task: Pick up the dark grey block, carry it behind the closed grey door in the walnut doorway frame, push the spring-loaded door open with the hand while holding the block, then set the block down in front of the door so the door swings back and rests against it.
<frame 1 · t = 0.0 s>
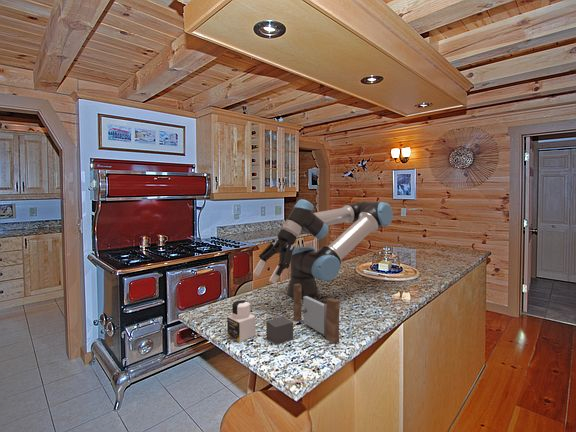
hand: (263, 278, 129), 15 cm above the counter, tool tilted 35°, fingers open, 13 cm apart
dark grey block: (279, 338, 110), on the counter
door: (314, 315, 115), point 6 cm above the counter, hinge at 0.0°
medicine bottle: (241, 336, 112), on the counter
doorframe: (315, 330, 116), on the counter
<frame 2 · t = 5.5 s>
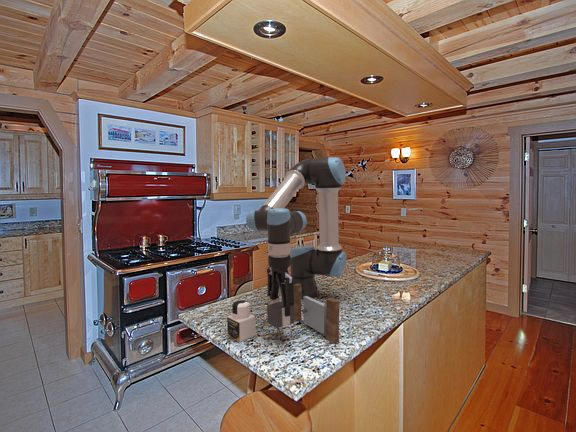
hand: (280, 321, 110), 6 cm above the counter, tool pointing down, fingers closed on dark grey block, 6 cm apart
dark grey block: (280, 322, 110), point 5 cm above the counter, touching gripper
everything else where it was.
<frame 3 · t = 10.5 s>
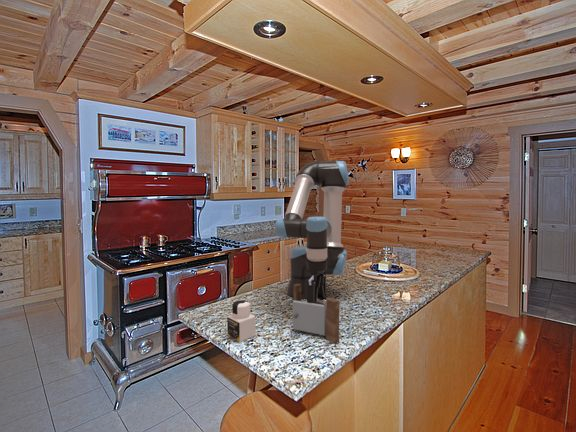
hand: (317, 319, 120), 2 cm above the counter, tool pointing down, fingers closed on dark grey block, 6 cm apart
dark grey block: (317, 320, 120), point 2 cm above the counter, touching gripper
door: (310, 318, 112), point 6 cm above the counter, hinge at 31.3°, touching hand
everything else where it was.
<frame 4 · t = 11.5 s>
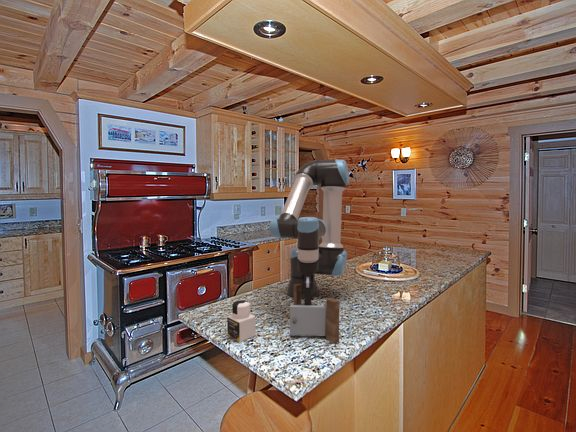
hand: (307, 321, 118), 2 cm above the counter, tool pointing down, fingers closed on dark grey block, 6 cm apart
dark grey block: (307, 322, 118), point 2 cm above the counter, touching gripper
door: (309, 320, 110), point 6 cm above the counter, hinge at 54.7°, touching hand
everything else where it was.
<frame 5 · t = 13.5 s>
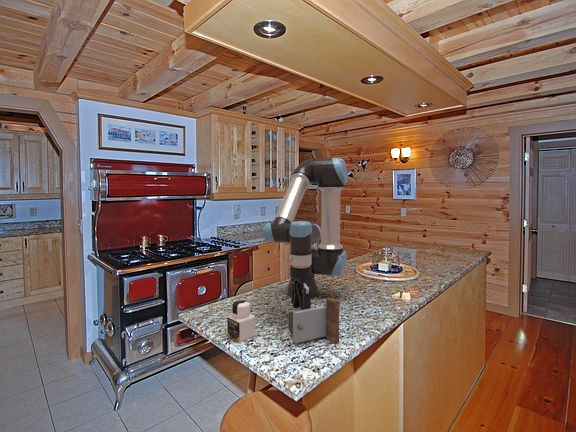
hand: (300, 329, 115), 1 cm above the counter, tool pointing down, fingers closed on dark grey block, 6 cm apart
dark grey block: (300, 330, 115), on the counter, touching gripper
door: (312, 324, 107), point 6 cm above the counter, hinge at 82.8°, touching hand
everything else where it was.
when the fingers open (1 cm above the counter, at t = 13.5 s): dark grey block stays where it is, on the counter.
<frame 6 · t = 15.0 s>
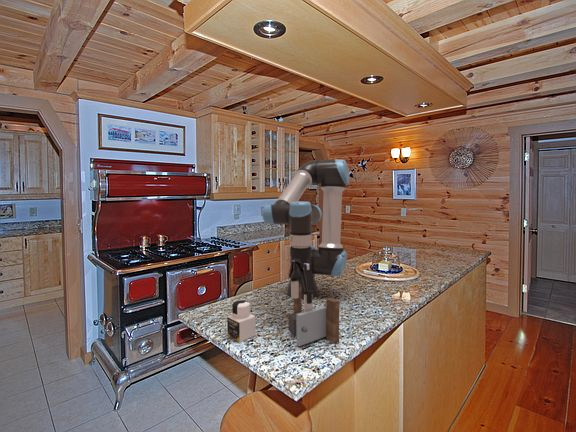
hand: (301, 304, 114), 10 cm above the counter, tool pointing down, fingers open, 13 cm apart
dark grey block: (300, 332, 115), on the counter
door: (314, 325, 106), point 6 cm above the counter, hinge at 93.2°
everything else where it was.
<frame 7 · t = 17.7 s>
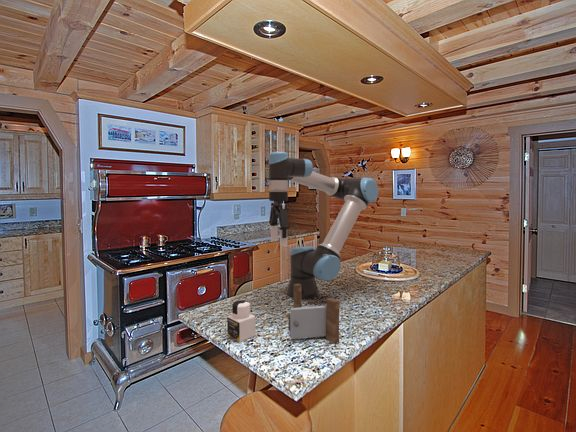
hand: (278, 243, 131), 29 cm above the counter, tool pointing down, fingers open, 13 cm apart
door: (310, 322, 109), point 6 cm above the counter, hinge at 68.0°
everything else where it was.
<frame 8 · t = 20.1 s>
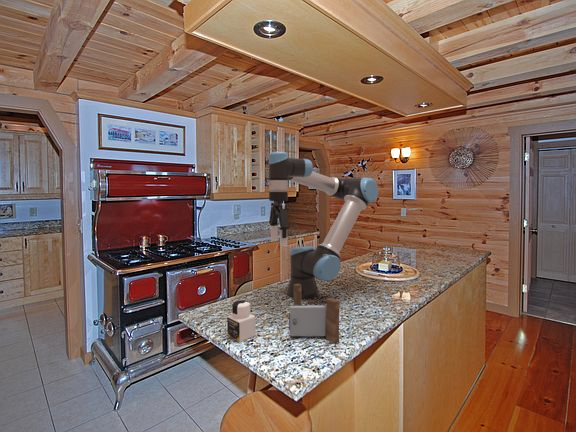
hand: (278, 243, 131), 29 cm above the counter, tool pointing down, fingers open, 13 cm apart
door: (309, 321, 110), point 6 cm above the counter, hinge at 58.0°
everything else where it was.
at the end: door at +58° (first picture: +0°); dark grey block inside the target area (0.4 cm from its centre), on the counter; dark grey block tilted 0° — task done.
